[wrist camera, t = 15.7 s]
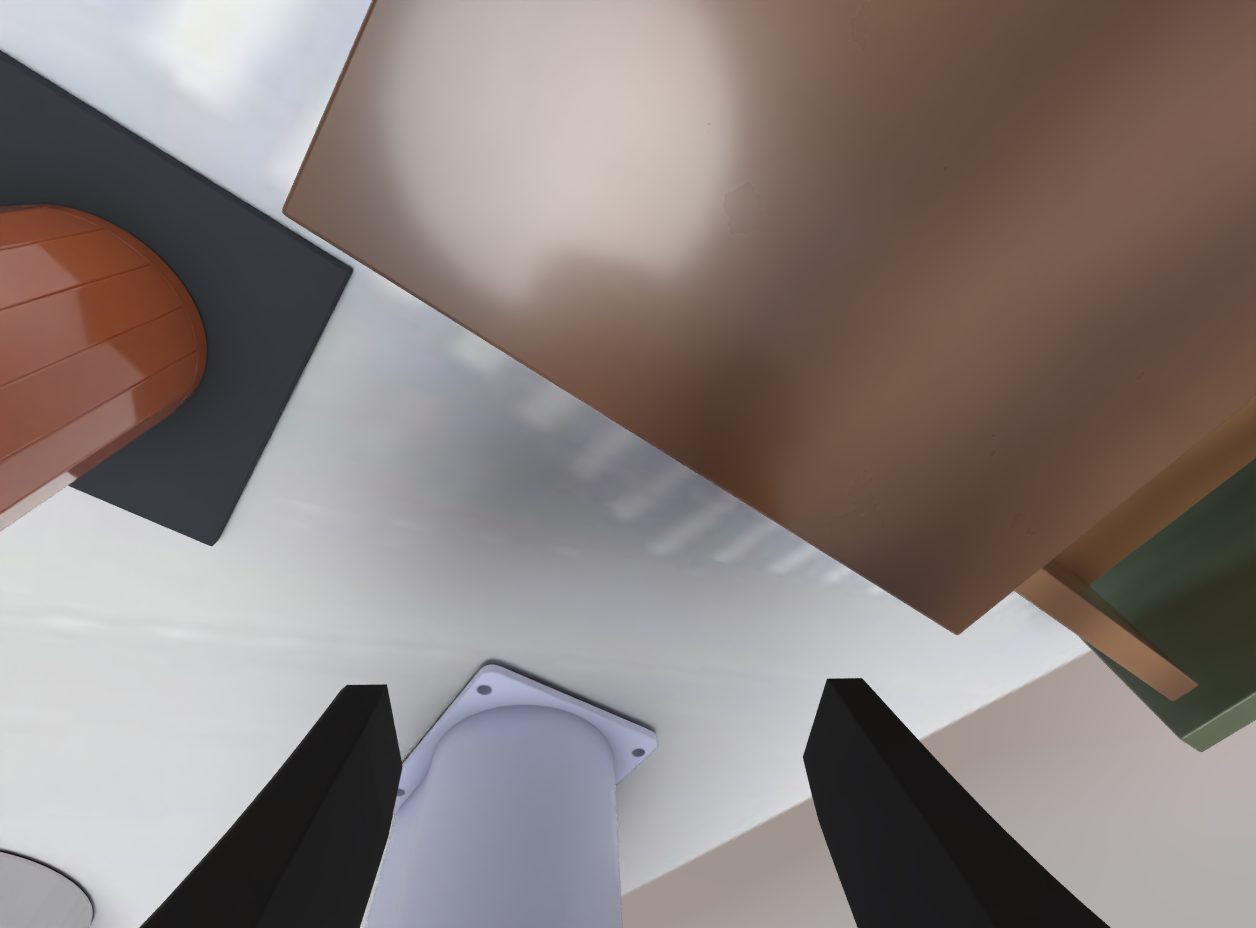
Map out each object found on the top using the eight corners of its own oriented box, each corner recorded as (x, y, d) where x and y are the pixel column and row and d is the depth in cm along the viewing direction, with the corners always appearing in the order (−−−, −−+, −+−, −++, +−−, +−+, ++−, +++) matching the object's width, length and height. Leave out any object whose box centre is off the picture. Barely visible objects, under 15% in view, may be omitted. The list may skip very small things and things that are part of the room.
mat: (218, 539, 19) (211, 547, 18) (-184, 366, 15) (-202, 372, 15) (353, 269, 15) (348, 272, 15) (-133, -32, 12) (-154, -37, 11)
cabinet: (1202, 99, 15) (1659, 76, 8) (835, 473, 19) (958, 637, 13) (761, -517, 10) (1076, -1645, 4) (410, 178, 14) (278, 213, 8)
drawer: (1411, 399, 18) (1695, 490, 14) (1088, 635, 22) (1221, 767, 18) (1162, 52, 13) (1472, 9, 9) (806, 436, 17) (888, 546, 13)
